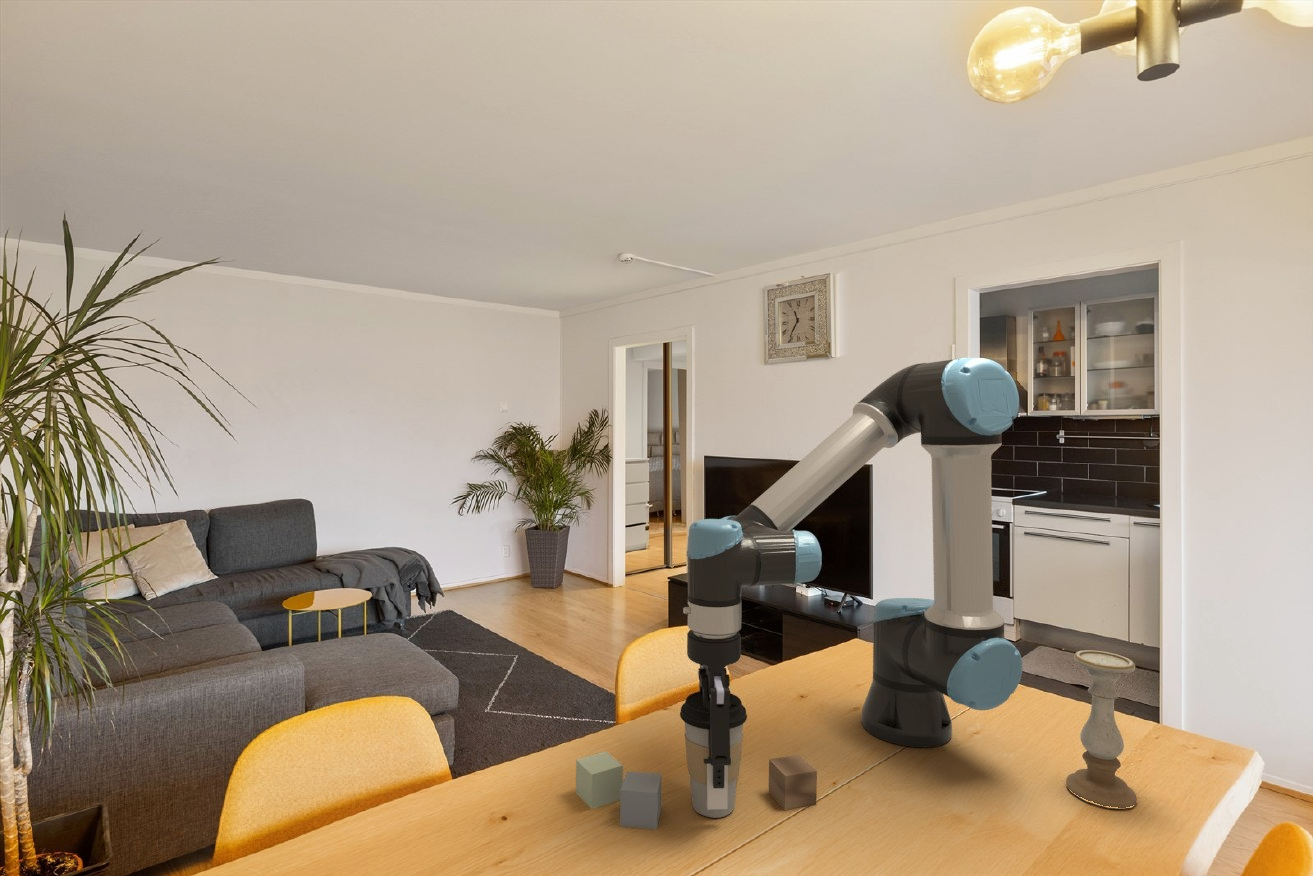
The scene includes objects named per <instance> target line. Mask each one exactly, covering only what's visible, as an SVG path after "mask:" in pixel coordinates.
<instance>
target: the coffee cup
mask: <svg viewBox="0 0 1313 876" xmlns="http://www.w3.org/2000/svg"><path fill="white" fill-rule="evenodd" d="M708 702H710V700H709V701H708ZM746 709H747V708H746V707H745V706H744V705H743V704H742V700H741V698H739V697H738V696H737V695H736V694H733V693H731V692H730V699H729V719H730V758H731V764H730V765H728V809H710V810H708V809H707V764H704V760H703V759H708V757H709V746H708V730H710V722H708V715H709V716H710V712H708V710H707V709H706V708H704V706H703V696H702V695H701V694H700V691H699V690H698V691H696V692H692V693H690V694H688V695H687V697H686V698H685V702H683V704H682V705H681V707H680V713H679V716H680V719H681V720H682V721H683V722H684V728H685V729H684V730H685V732H684V741H685V752H686V764H687V773H688V774H687V775H688V776H689V783H690V793H691V803H692V809H693V810H694V811H695V812H696V813H697V814H700V815H702V816H703V817H708V818H714V819H716V818H717V819H718V818H724V817H727V816H728V815H730V814H731V813H732V812H733V811H734V810H735V803H736V795H737V787H738V785H737V784H738V777H739V776H740V775H739V774H740V767H741V758H742V750H743V749H742V747H743V740H744V734H743V729H744V723H745V722H746V721H747V719H748V715H747V710H746Z"/></svg>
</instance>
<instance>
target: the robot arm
mask: <svg viewBox="0 0 1313 876" xmlns="http://www.w3.org/2000/svg"><path fill="white" fill-rule="evenodd" d="M1019 408H1020V396H1019V391H1018V388H1017V385H1016V382H1015V380H1014V378H1013V377H1012V376H1011V374H1010V373H1009V372H1008V371H1007V370H1005V369H1004V367H1003V365H1001V364H1000V363H999V362H996V361H995V360H992V359H989V358H986V357H985V358H983V357H962V358H961V357H960V358H955V359H948V360H941V361H940V360H939V361H933V362H921V363H914V364H912V365H909V366H907V367H904V368H902V369H901V370H899V371H897V372H895V373H894V374H892V375H890V377H888V378H887V379H885V380H884V381H883V382H881V383H880V384H879V385H877V386H876V387H875V388H874V389H873V390H871V391H870V392H869V393H868V394H866V396H864V397H863V398H862V399H860V400H859V401H858V402H857V403H856V404H855V405H854V406H853V408H852V415H851V416H850V417H849V418H848V419H847V420H846V421H844V422H843V423H842V424H841V425H840V426H839V427H837V428H836V429H835V430H834V431H832V433H830V434H829V435H828V436H827V437H826V438H825V439H824V440H823V441H821V443H820V444H818V445H817V446H816V447H815V448H814V449H813V450H811V451H810V452H809V453H808V454H806V455H805V456H804V457H803V458H802V459H801V460H799V462H798V463H796V464H795V465H794V466H793V467H792V468H791V469H789V470H788V471H787V472H786V473H785V474H784V475H783V476H781V477H780V478H779V479H778V480H776V482H775V483H773V484H772V485H771V486H770V487H769V488H767V490H765V491H764V492H763V493H762V494H761V495H760V496H758V497H757V498H756V499H755V500H754V501H753V502H751V504H749V505H748V506H747V507H746V508H744V509H743V510H742V511H741V512H740V513H738V514H737V515H729V516H724V517H722V518H719V519H718V518H705V519H699V520H696V521H693V522H692V523H691V524H690V526H689V529H688V535H687V547H686V549H687V551H686V557H687V558H686V559H687V606H685V607H683V608H682V609H683V610H682V612H683V614H685V615H687V627H688V629H689V631H688V632H687V633H686V635H687V636H686V637H687V638H686V639H687V640H686V654H687V655H686V656H687V658H688V659H689V660H690V661H691V662H693V663H695V664H698V665H699V668H698V671H697V672H698V680H699V681H698V689H699V690H698V692H699V691H700V694H701V695H702V696H703V706H704V708H706V709H707V710H708V712H710V716H709V715H708V722H710V730H708V746H709V757H708V759H703V760H704V764H707V809H708V810H710V809H728V765H730V764H731V758H730V719H729V699H730V693H731V689H730V686H731V685H730V683H731V681H730V674H728V673H727V672H728V670H727V666H729V665H734V664H736V663H737V662H739V661H740V659H741V657H742V656H741V655H742V654H741V653H742V652H741V651H742V649H741V648H742V645H741V644H742V641H741V639H742V635H741V633H740V632H739V631H740V630H741V629H742V589H743V587H744V588H745V587H746V588H747V587H748V588H749V587H760V586H761V587H762V586H763V587H764V586H777V585H778V586H779V585H797V584H801V583H808V582H812V581H814V580H815V579H816V578H817V577H818V576H819V574H820V571H821V569H822V566H823V565H822V560H823V558H822V557H823V555H822V550H821V549H822V548H821V546H820V543H819V541H818V539H817V537H816V536H815V535H814V534H813V533H812V532H810V531H808V530H795V529H793V528H795V527H796V526H797V525H798V524H799V523H800V522H801V521H803V519H805V518H806V517H807V516H808V515H810V514H811V513H812V512H813V511H814V510H815V509H816V508H817V507H818V506H819V505H820V504H822V503H823V502H824V501H825V500H827V499H828V498H829V496H831V495H832V494H833V493H835V491H836V490H837V489H839V488H840V487H841V486H842V485H843V484H845V482H846V481H847V480H849V479H850V478H851V477H853V476H854V474H856V473H857V472H858V471H859V470H860V469H861V468H862V467H864V466H865V465H866V464H867V463H868V462H869V461H870V460H872V458H874V457H875V456H876V455H877V454H878V453H879V452H881V450H883V448H887V449H892V448H894V447H896V445H898V444H899V443H900V442H901V441H902V440H904V439H906V438H908V437H910V436H912V435H915V434H919V433H920V445H921V447H922V448H923V449H924V450H925V451H926V452H928V454H929V455H930V457H931V494H932V495H931V496H932V497H931V498H932V499H931V504H932V507H931V509H932V544H933V545H932V553H933V554H932V557H933V559H932V560H933V561H932V562H933V599H931V598H919V597H897V598H894V597H893V598H886V599H882V600H879V601H878V602H877V603H876V604H875V606H874V610H873V618H872V624H873V625H872V627H873V628H872V629H873V630H872V631H873V632H872V633H873V634H872V635H873V636H872V638H873V640H872V642H873V643H872V649H873V651H872V682H871V685H870V687H869V690H868V693H867V696H866V697H865V701H864V703H863V707H862V710H861V724H862V726H863V728H864V729H865V730H866V731H867V732H868V733H869V734H870V735H873V736H874V737H876V738H879V740H882V741H883V740H884V741H886V742H889V743H890V744H891V743H892V744H895V745H900V746H904V747H912V748H931V747H933V748H934V747H938V746H943V745H946V743H949V742H950V740H951V739H952V737H953V722H952V718H951V715H950V712H949V709H948V706H947V702H946V699H945V696H946V697H948V698H950V700H951V701H953V702H955V703H956V704H958V705H962V706H965V707H967V708H969V709H971V710H974V711H975V710H976V711H990V710H993V709H996V708H998V707H1000V706H1001V705H1003V704H1004V703H1006V702H1007V701H1008V700H1009V698H1010V697H1011V695H1012V694H1014V693H1015V691H1016V689H1017V688H1018V686H1019V684H1020V681H1021V679H1022V674H1023V659H1022V655H1021V653H1020V651H1019V650H1018V649H1017V648H1016V646H1015V645H1014V644H1013V643H1012V642H1011V641H1009V640H1008V639H1006V638H1005V620H1004V617H1003V616H1002V615H1001V614H1000V613H999V612H998V611H997V610H996V609H995V608H994V588H993V587H994V579H993V578H994V577H993V576H994V575H993V574H994V573H993V571H994V568H993V567H994V566H993V516H992V515H993V514H992V513H993V512H992V511H993V509H992V506H993V505H992V504H993V503H992V456H993V454H994V452H996V451H997V450H998V449H999V448H1000V447H1001V446H1002V443H1003V442H1002V439H1003V438H1002V437H1003V436H1002V433H1003V432H1005V431H1007V430H1008V429H1009V428H1010V427H1011V426H1012V425H1013V424H1014V423H1013V420H1014V419H1016V418H1017V416H1018V413H1019ZM709 700H710V702H708V701H709Z"/></svg>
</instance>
